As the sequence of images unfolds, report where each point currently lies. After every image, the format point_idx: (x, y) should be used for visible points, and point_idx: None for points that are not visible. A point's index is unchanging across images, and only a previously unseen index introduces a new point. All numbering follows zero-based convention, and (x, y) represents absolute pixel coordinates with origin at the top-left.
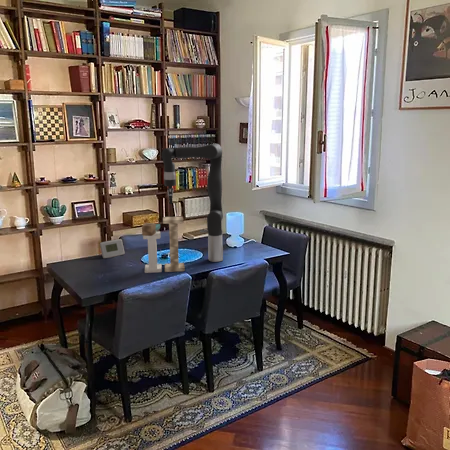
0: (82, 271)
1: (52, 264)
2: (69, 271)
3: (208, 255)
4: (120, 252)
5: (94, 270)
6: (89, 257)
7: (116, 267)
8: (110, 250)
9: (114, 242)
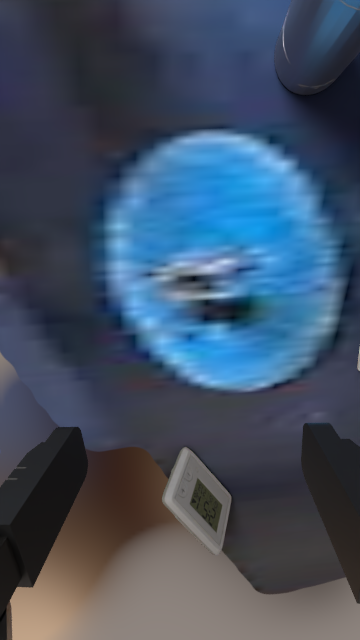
0: None
1: (265, 593)
2: None
3: (321, 81)
4: (196, 463)
5: None
6: None
7: None
8: (212, 499)
9: (192, 513)
